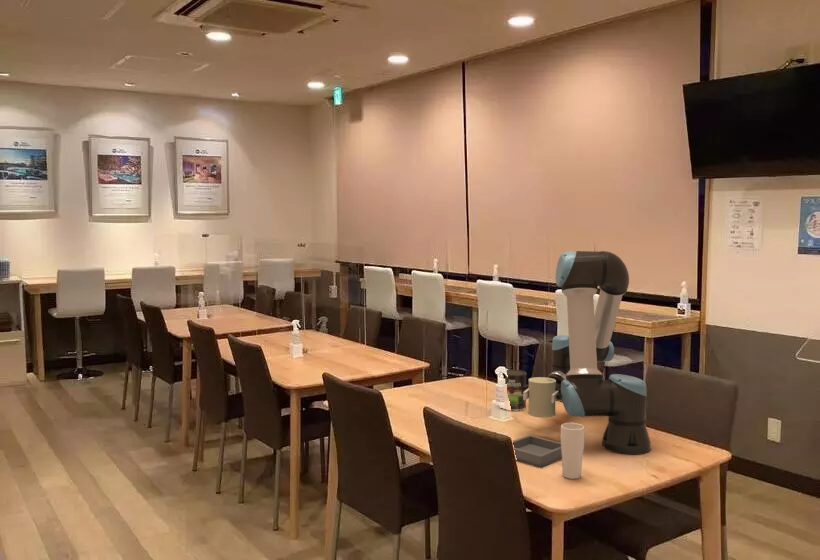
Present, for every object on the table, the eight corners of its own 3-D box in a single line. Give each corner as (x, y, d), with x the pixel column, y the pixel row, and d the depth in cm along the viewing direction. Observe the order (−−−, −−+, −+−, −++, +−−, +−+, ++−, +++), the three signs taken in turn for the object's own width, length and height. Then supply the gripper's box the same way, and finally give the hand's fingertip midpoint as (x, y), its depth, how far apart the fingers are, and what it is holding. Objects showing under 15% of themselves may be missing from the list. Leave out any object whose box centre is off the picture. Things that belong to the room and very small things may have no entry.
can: (555, 418, 242) (556, 382, 241) (527, 416, 244) (527, 380, 243) (555, 411, 251) (556, 376, 250) (528, 409, 253) (528, 375, 252)
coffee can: (525, 412, 281) (525, 375, 280) (498, 410, 283) (498, 374, 282) (527, 405, 291) (527, 370, 290) (501, 403, 293) (501, 368, 292)
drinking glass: (580, 472, 217) (581, 422, 216) (586, 480, 211) (587, 429, 209) (557, 472, 217) (558, 422, 216) (562, 480, 210) (563, 429, 209)
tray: (569, 455, 232) (569, 445, 231) (540, 467, 221) (540, 456, 221) (529, 444, 242) (529, 434, 242) (500, 455, 232) (500, 445, 231)
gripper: (585, 397, 258) (570, 412, 238) (525, 391, 268) (506, 405, 247) (585, 376, 258) (571, 389, 238) (526, 370, 267) (506, 383, 247)
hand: (538, 397), depth 242 cm, fingers closed on can, 9 cm apart
